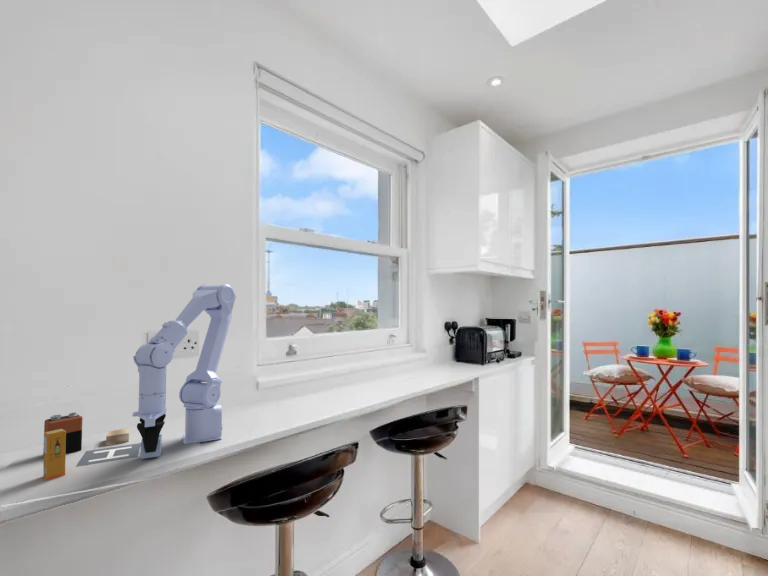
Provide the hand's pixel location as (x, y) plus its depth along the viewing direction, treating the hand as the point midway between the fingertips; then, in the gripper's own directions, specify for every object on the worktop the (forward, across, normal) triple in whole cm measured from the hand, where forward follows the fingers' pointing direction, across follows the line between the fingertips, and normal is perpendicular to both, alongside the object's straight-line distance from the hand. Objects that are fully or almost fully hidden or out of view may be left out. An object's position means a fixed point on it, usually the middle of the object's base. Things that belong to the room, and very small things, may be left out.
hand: (151, 448), depth 93 cm
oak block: (+3, -18, -9) cm, 20 cm away
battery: (+3, -14, -20) cm, 25 cm away
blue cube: (+1, 0, 0) cm, 1 cm away
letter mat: (+2, -7, -9) cm, 12 cm away
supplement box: (+2, +2, -18) cm, 18 cm away
